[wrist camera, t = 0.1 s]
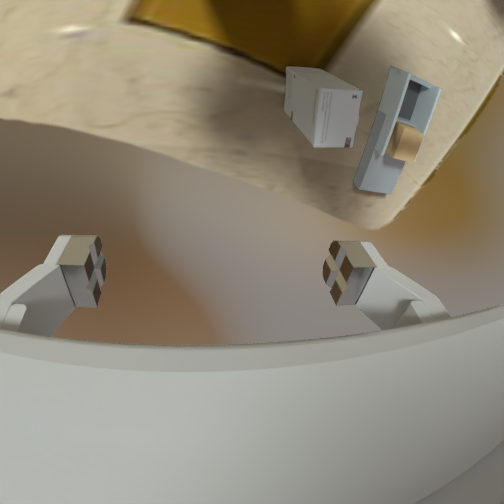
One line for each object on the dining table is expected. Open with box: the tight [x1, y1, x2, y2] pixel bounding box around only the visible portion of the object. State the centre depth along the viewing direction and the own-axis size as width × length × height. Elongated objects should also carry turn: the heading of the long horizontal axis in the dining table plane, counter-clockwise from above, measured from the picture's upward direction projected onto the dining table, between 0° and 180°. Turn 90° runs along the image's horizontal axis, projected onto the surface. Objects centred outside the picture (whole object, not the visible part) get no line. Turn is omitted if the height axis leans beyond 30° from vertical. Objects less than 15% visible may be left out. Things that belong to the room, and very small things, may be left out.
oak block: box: [386, 121, 424, 163], centre depth 44 cm, size 6×5×4 cm
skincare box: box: [284, 66, 363, 148], centre depth 36 cm, size 8×6×15 cm
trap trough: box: [353, 66, 441, 194], centre depth 45 cm, size 25×8×6 cm, turn 171°
